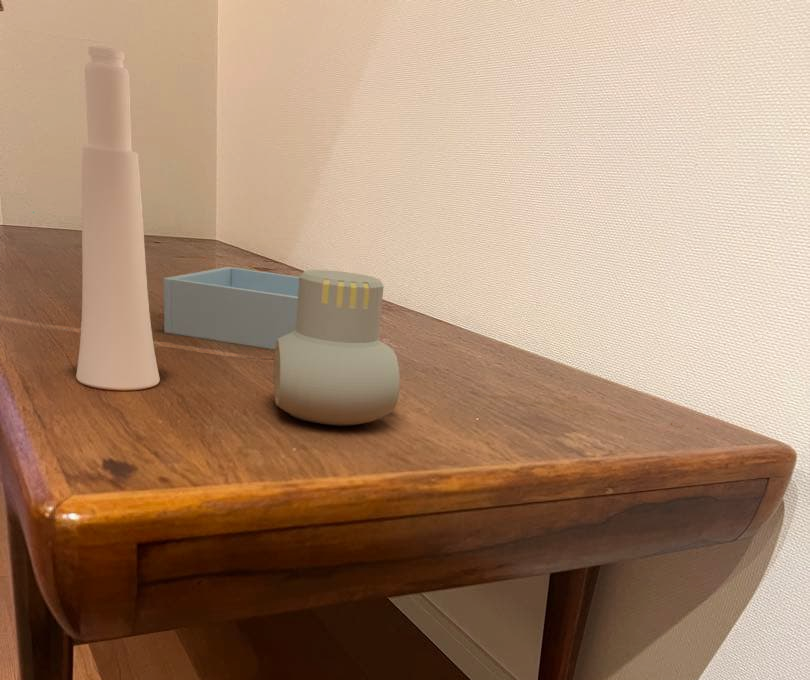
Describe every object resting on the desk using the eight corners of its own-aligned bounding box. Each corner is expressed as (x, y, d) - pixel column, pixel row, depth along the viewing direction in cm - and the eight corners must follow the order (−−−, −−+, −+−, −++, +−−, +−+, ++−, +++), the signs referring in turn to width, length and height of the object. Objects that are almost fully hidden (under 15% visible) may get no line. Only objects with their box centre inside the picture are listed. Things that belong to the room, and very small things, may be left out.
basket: (164, 337, 76) (163, 278, 74) (226, 317, 90) (227, 266, 88) (317, 361, 74) (321, 301, 72) (356, 337, 88) (361, 285, 86)
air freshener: (399, 441, 54) (417, 293, 50) (279, 436, 52) (287, 280, 48) (373, 399, 64) (386, 271, 60) (271, 393, 62) (277, 261, 58)
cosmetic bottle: (86, 392, 56) (66, 36, 47) (68, 371, 61) (47, 43, 52) (169, 389, 59) (166, 55, 50) (147, 370, 64) (140, 60, 55)
